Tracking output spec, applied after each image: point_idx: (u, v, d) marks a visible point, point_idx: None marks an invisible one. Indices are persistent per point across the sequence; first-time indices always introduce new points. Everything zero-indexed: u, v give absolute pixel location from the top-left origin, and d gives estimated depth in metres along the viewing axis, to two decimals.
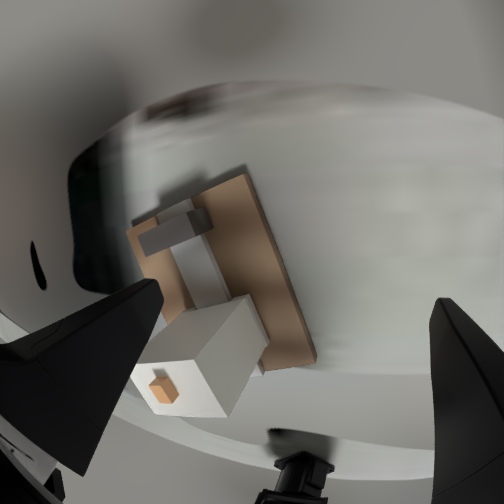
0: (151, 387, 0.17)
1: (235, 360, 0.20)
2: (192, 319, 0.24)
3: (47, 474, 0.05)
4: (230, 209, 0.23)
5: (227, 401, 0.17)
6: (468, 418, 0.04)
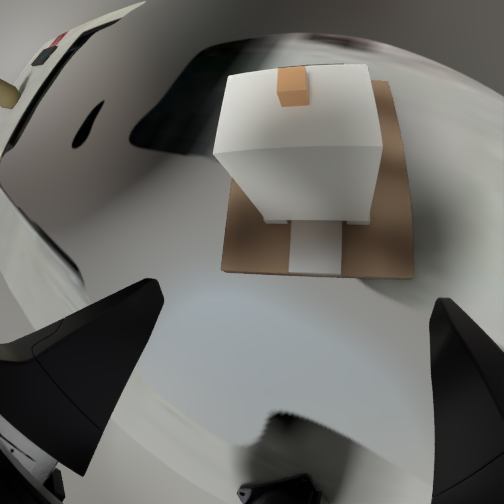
0: (282, 70, 0.11)
1: None
2: None
3: (47, 474, 0.05)
4: None
5: None
6: (468, 418, 0.04)
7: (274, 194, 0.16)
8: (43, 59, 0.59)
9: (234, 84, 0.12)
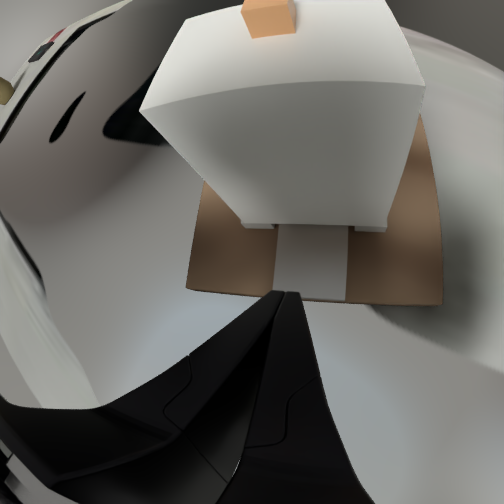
0: None
1: None
2: None
3: None
4: None
5: None
6: None
7: (248, 182, 0.10)
8: (39, 55, 0.56)
9: (190, 26, 0.07)
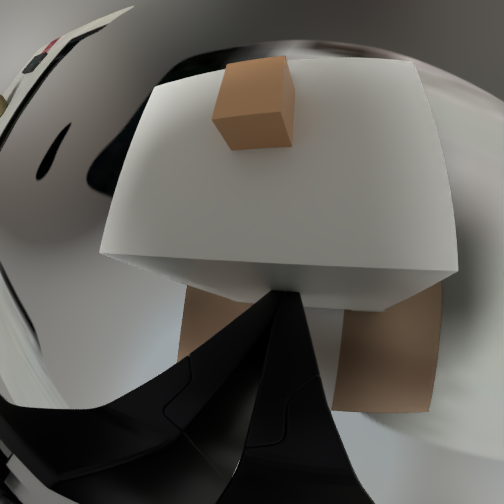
0: (235, 67, 0.05)
1: None
2: None
3: None
4: None
5: None
6: None
7: (235, 291, 0.10)
8: (32, 66, 0.56)
9: (158, 102, 0.07)
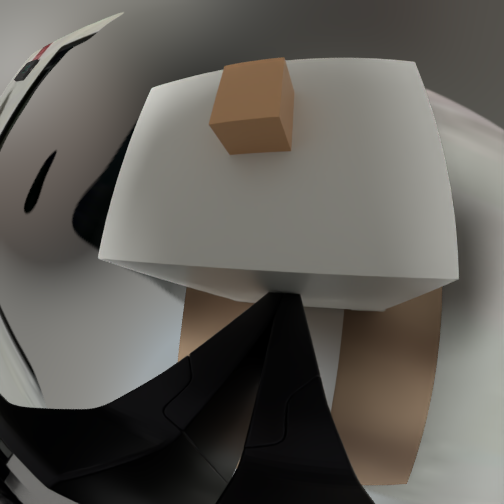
0: (233, 69, 0.05)
1: None
2: None
3: None
4: None
5: None
6: None
7: (235, 292, 0.10)
8: (24, 74, 0.54)
9: (155, 104, 0.07)
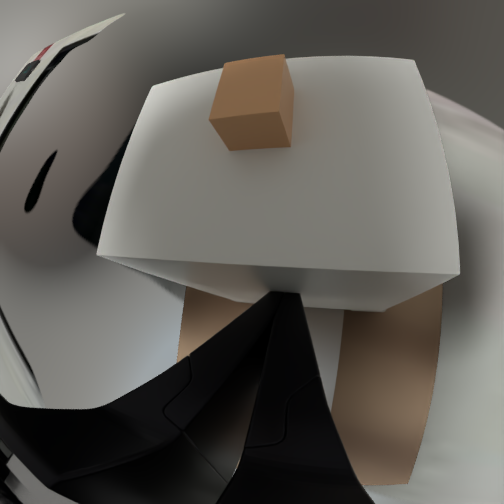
0: (233, 65, 0.05)
1: None
2: None
3: None
4: None
5: None
6: None
7: (234, 291, 0.10)
8: (25, 75, 0.54)
9: (156, 101, 0.07)
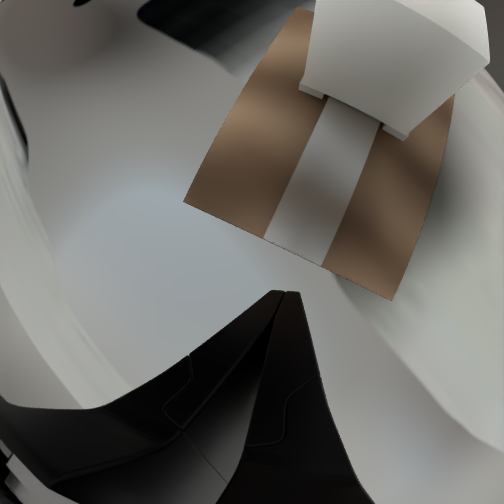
0: None
1: None
2: None
3: None
4: None
5: None
6: None
7: (341, 53, 0.11)
8: None
9: None
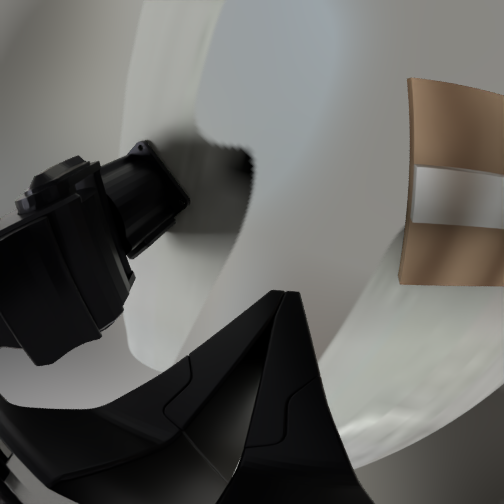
0: None
1: None
2: None
3: None
4: None
5: None
6: None
7: None
8: None
9: None
